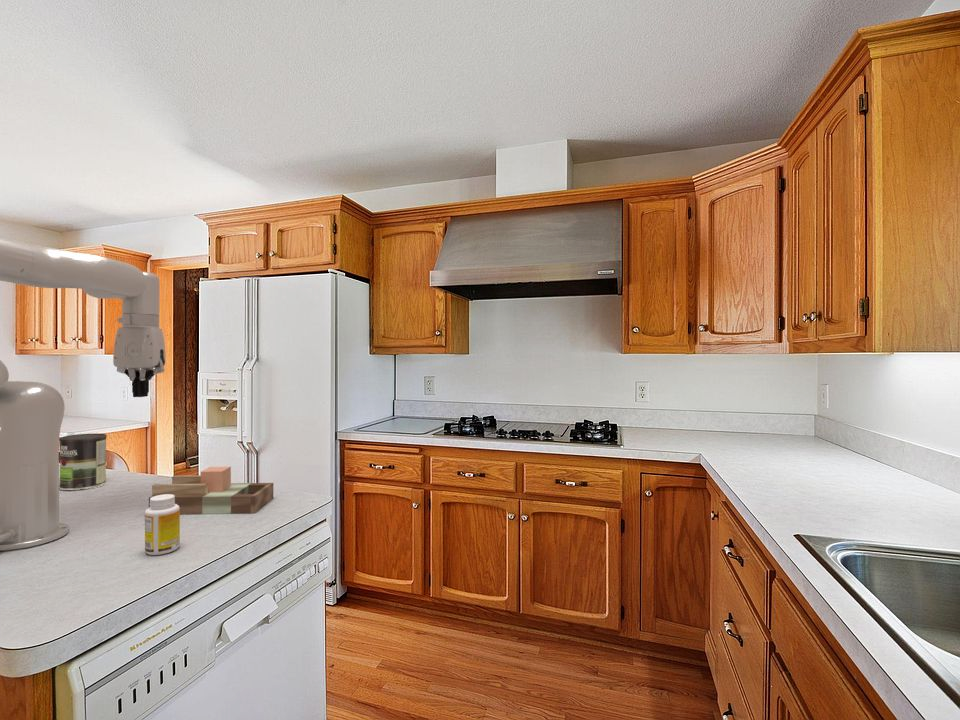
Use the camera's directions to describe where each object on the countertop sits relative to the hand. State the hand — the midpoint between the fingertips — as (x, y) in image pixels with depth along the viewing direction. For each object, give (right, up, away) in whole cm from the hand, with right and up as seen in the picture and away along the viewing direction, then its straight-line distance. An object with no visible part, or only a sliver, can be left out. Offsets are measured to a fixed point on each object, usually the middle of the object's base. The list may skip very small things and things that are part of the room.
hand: (140, 396), depth 119 cm
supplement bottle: (+23, -28, -27) cm, 45 cm away
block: (+19, -23, 0) cm, 29 cm away
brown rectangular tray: (+18, -27, 0) cm, 33 cm away
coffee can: (-28, -27, +17) cm, 42 cm away
